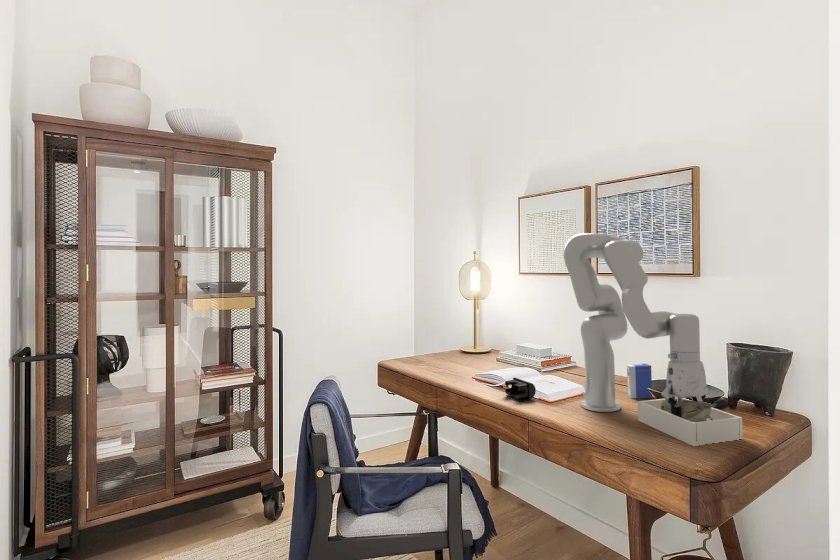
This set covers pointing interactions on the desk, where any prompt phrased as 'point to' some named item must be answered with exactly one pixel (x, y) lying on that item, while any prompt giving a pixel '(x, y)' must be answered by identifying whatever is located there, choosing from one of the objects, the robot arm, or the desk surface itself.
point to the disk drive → (721, 402)
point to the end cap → (520, 390)
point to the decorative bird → (691, 410)
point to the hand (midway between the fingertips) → (686, 417)
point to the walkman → (639, 381)
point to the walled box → (691, 424)
